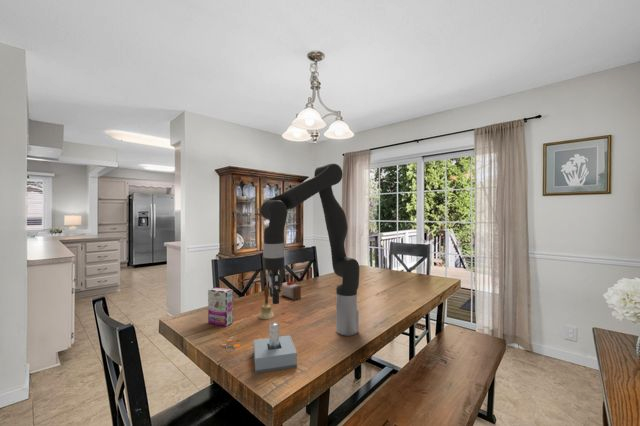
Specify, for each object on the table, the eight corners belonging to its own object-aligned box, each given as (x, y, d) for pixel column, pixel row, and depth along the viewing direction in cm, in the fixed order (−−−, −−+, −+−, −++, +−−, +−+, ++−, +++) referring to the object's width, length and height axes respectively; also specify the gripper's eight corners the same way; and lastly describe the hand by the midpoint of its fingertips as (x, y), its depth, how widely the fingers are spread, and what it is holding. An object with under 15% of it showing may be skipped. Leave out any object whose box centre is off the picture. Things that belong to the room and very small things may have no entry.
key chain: (244, 348, 110) (244, 346, 110) (225, 354, 106) (225, 351, 106) (233, 336, 120) (233, 334, 120) (216, 341, 116) (216, 339, 116)
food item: (279, 295, 177) (279, 280, 177) (289, 293, 183) (289, 278, 183) (292, 300, 167) (292, 284, 167) (303, 298, 173) (303, 282, 173)
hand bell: (277, 316, 143) (277, 285, 143) (264, 320, 137) (264, 288, 137) (268, 312, 149) (268, 282, 148) (254, 316, 142) (254, 285, 142)
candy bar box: (233, 323, 134) (233, 289, 134) (226, 327, 129) (226, 291, 129) (215, 319, 138) (215, 286, 138) (207, 323, 133) (207, 289, 133)
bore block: (290, 347, 110) (290, 335, 110) (297, 367, 96) (297, 352, 96) (253, 352, 106) (253, 339, 106) (255, 373, 92) (255, 358, 92)
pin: (278, 353, 103) (278, 321, 103) (279, 358, 100) (279, 325, 100) (268, 355, 102) (268, 322, 102) (269, 360, 99) (269, 326, 99)
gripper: (287, 258, 95) (287, 305, 95) (281, 252, 109) (281, 293, 109) (265, 259, 93) (265, 307, 93) (261, 253, 106) (262, 295, 107)
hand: (274, 300), depth 101 cm, fingers open, 8 cm apart
